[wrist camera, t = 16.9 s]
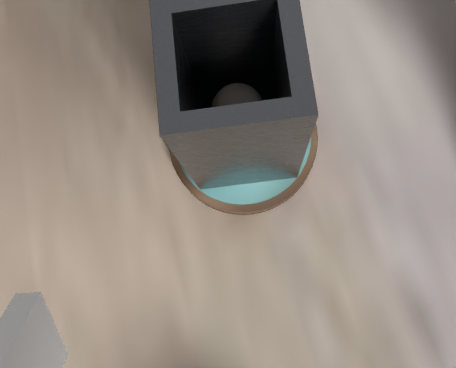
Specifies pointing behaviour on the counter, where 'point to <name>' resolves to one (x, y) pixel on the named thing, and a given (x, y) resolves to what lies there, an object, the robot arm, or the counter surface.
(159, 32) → the grey square holder
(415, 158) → the counter surface
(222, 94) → the post stand
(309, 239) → the counter surface
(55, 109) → the counter surface
